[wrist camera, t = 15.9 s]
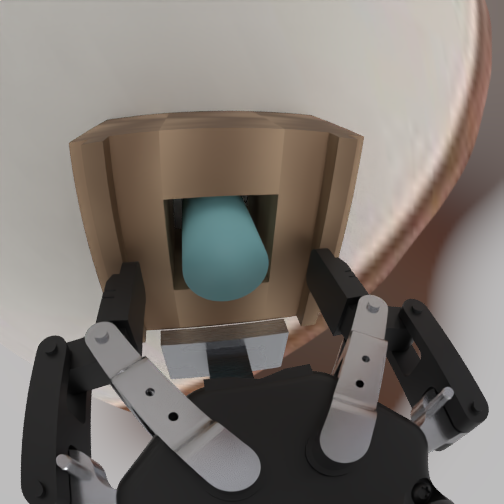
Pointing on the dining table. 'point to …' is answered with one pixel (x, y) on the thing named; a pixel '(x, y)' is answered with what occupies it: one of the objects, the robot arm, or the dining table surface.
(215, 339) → the latch bar
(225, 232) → the dowel
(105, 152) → the socket block
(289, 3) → the dining table surface
